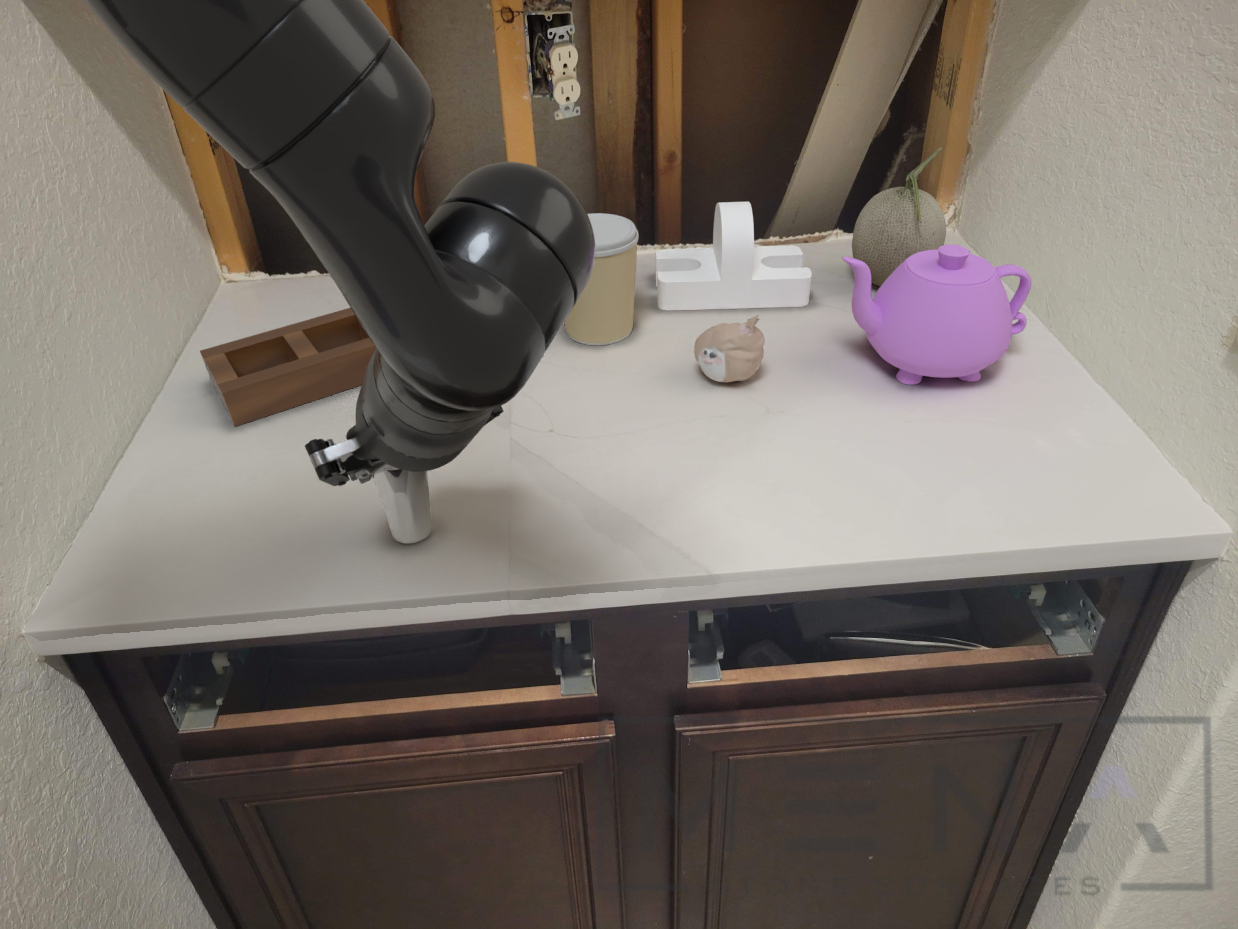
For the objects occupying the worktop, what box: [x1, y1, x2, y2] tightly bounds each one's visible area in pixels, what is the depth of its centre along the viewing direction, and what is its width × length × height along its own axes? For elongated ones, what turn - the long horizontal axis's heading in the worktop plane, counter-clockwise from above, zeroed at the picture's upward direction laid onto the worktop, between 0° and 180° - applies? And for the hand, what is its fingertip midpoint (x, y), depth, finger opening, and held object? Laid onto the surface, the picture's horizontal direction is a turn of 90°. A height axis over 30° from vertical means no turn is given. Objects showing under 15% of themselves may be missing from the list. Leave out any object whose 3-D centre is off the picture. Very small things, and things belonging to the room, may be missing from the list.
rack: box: [199, 307, 376, 427], centre depth 87 cm, size 10×18×4 cm, turn 124°
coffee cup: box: [563, 212, 640, 346], centre depth 91 cm, size 9×9×12 cm
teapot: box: [841, 243, 1032, 385], centre depth 83 cm, size 20×14×12 cm
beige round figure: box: [693, 314, 766, 384], centre depth 83 cm, size 7×6×8 cm
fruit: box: [851, 146, 947, 287], centre depth 97 cm, size 10×12×15 cm
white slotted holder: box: [655, 201, 813, 312], centre depth 98 cm, size 10×18×11 cm, turn 90°
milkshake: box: [372, 466, 433, 545], centre depth 64 cm, size 4×5×10 cm
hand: (391, 458), depth 65 cm, fingers closed on milkshake, 4 cm apart
